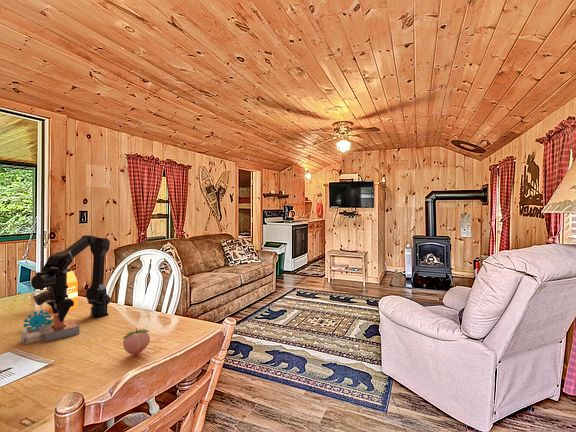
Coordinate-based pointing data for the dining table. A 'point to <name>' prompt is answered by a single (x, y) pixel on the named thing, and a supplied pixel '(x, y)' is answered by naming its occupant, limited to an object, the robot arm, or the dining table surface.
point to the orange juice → (72, 288)
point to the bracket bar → (31, 337)
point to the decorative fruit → (136, 341)
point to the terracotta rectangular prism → (57, 322)
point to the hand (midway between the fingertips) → (58, 319)
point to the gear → (38, 320)
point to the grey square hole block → (58, 331)
